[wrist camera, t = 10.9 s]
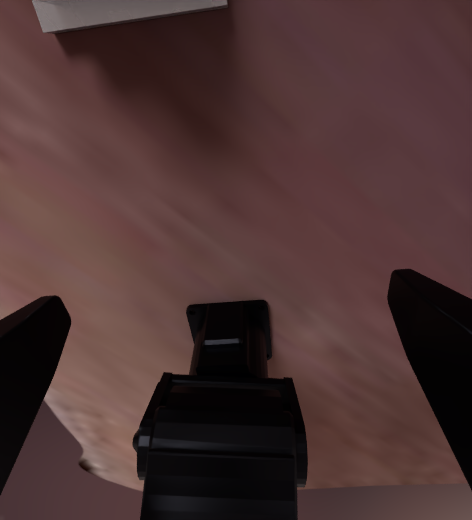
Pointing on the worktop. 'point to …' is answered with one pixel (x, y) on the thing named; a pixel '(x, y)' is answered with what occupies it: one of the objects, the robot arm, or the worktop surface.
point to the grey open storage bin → (112, 12)
